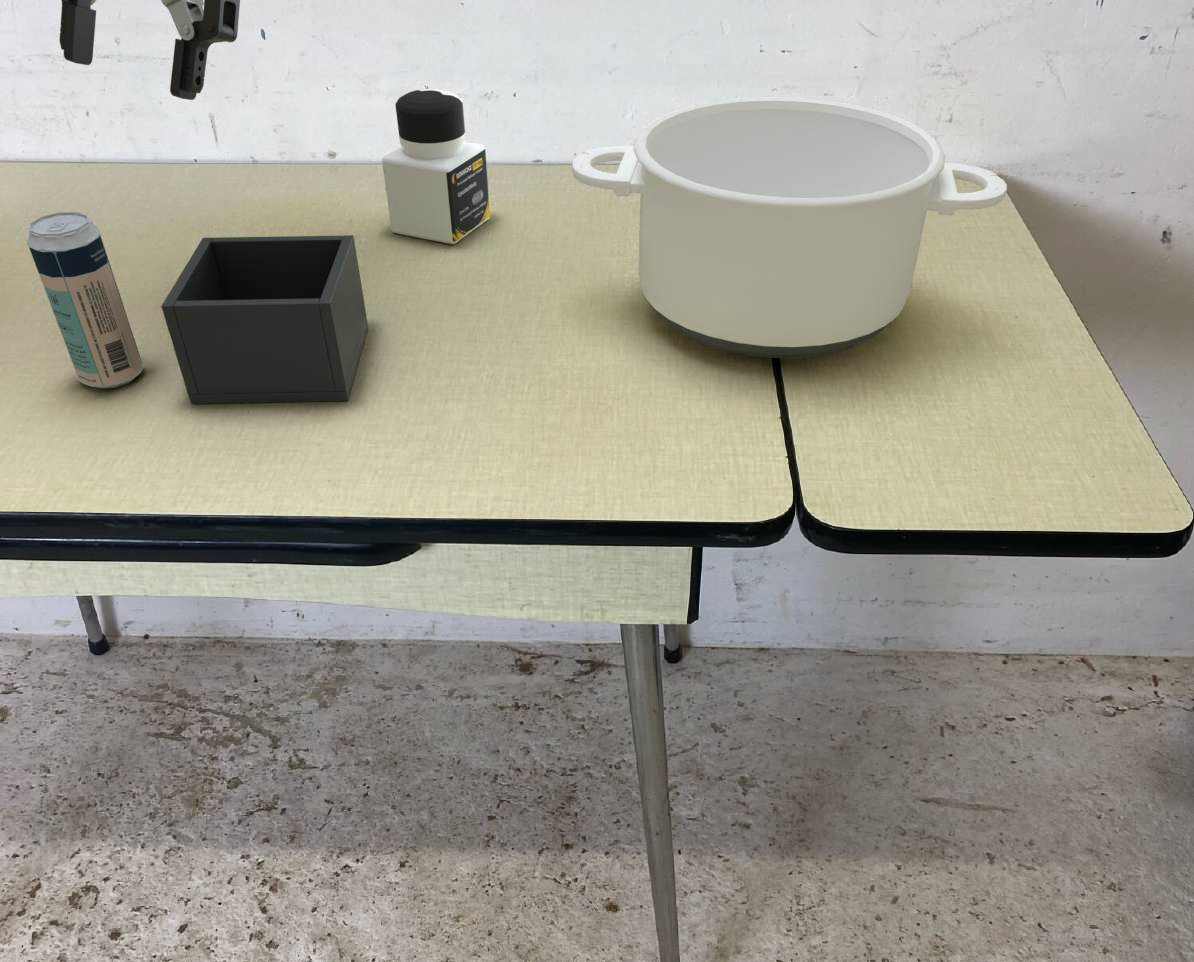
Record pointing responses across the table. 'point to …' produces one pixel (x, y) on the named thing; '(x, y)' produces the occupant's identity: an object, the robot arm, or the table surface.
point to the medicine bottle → (435, 170)
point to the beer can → (85, 298)
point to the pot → (783, 218)
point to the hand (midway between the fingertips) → (129, 80)
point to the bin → (268, 319)
